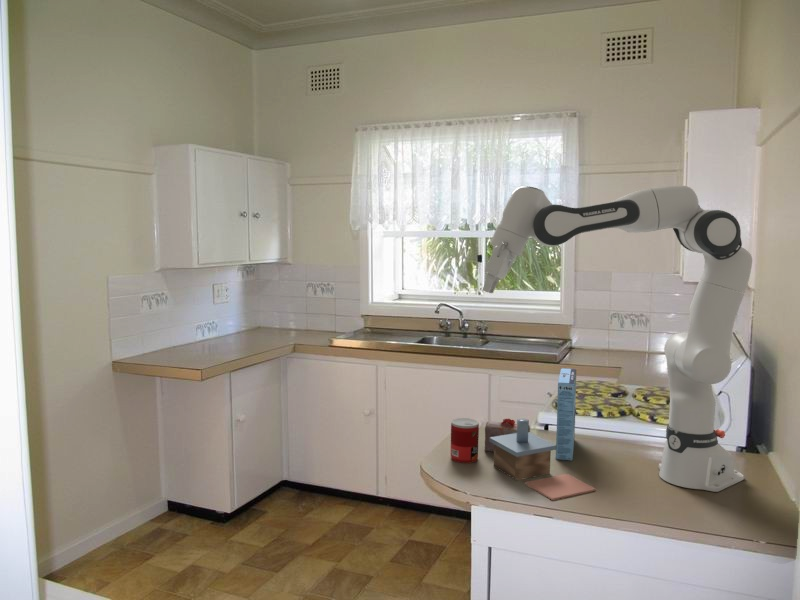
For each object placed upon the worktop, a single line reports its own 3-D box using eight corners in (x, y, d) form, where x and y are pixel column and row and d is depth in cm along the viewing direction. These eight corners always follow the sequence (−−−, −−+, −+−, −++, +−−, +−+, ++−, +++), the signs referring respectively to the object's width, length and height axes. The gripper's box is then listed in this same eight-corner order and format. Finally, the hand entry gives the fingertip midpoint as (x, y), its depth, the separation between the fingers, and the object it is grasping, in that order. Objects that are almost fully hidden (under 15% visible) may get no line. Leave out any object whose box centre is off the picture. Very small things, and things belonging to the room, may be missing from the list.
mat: (567, 475, 178) (567, 473, 177) (595, 490, 168) (595, 488, 168) (525, 484, 172) (525, 482, 171) (551, 500, 162) (551, 498, 162)
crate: (525, 460, 189) (526, 436, 188) (549, 473, 179) (550, 449, 178) (493, 466, 184) (494, 442, 183) (516, 480, 174) (517, 455, 173)
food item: (531, 449, 198) (532, 417, 197) (529, 458, 190) (530, 425, 189) (486, 444, 202) (486, 413, 200) (482, 453, 194) (483, 421, 193)
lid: (527, 438, 189) (527, 411, 188) (555, 453, 177) (557, 424, 176) (489, 444, 184) (489, 416, 182) (516, 460, 172) (517, 430, 171)
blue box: (572, 461, 188) (575, 383, 185) (554, 459, 189) (557, 382, 186) (574, 439, 206) (577, 368, 204) (558, 438, 208) (561, 367, 205)
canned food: (476, 464, 185) (477, 427, 184) (448, 462, 187) (449, 425, 185) (479, 455, 192) (479, 418, 191) (452, 452, 194) (452, 417, 193)
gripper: (516, 244, 163) (494, 295, 164) (520, 252, 182) (501, 297, 184) (492, 235, 164) (471, 286, 165) (500, 243, 184) (480, 289, 185)
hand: (487, 292), depth 174 cm, fingers open, 8 cm apart
